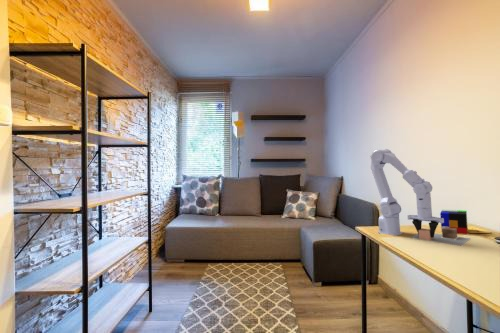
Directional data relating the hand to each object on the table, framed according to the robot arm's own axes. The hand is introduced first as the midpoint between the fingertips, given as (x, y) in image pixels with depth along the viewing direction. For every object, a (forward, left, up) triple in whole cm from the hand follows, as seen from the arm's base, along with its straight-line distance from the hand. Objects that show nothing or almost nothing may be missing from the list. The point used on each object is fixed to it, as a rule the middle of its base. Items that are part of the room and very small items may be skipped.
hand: (426, 236), depth 126 cm
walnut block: (+7, +8, -1) cm, 11 cm away
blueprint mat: (+4, +4, -1) cm, 6 cm away
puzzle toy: (+5, +22, -2) cm, 23 cm away
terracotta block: (0, 0, -1) cm, 1 cm away
